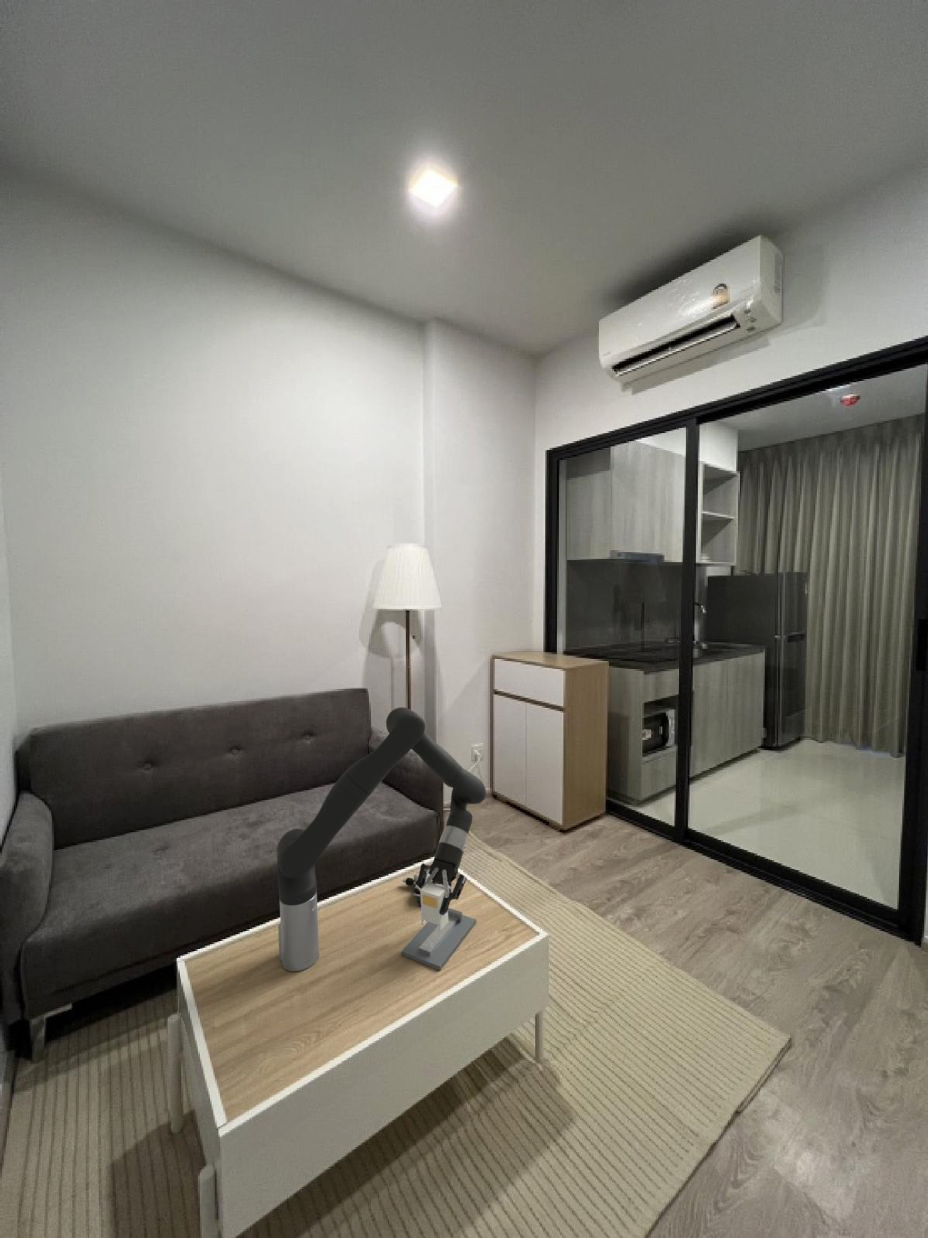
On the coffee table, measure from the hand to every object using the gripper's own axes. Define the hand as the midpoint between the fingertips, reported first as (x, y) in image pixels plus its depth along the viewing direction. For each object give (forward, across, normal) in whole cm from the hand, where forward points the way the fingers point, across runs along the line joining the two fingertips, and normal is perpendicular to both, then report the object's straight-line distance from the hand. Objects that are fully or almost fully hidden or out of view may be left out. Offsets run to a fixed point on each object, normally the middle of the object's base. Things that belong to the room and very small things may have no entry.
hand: (431, 910), depth 129 cm
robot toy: (-7, -15, +23) cm, 28 cm away
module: (+2, 0, +4) cm, 5 cm away
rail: (+4, 0, +11) cm, 11 cm away
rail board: (+4, 0, +11) cm, 11 cm away
